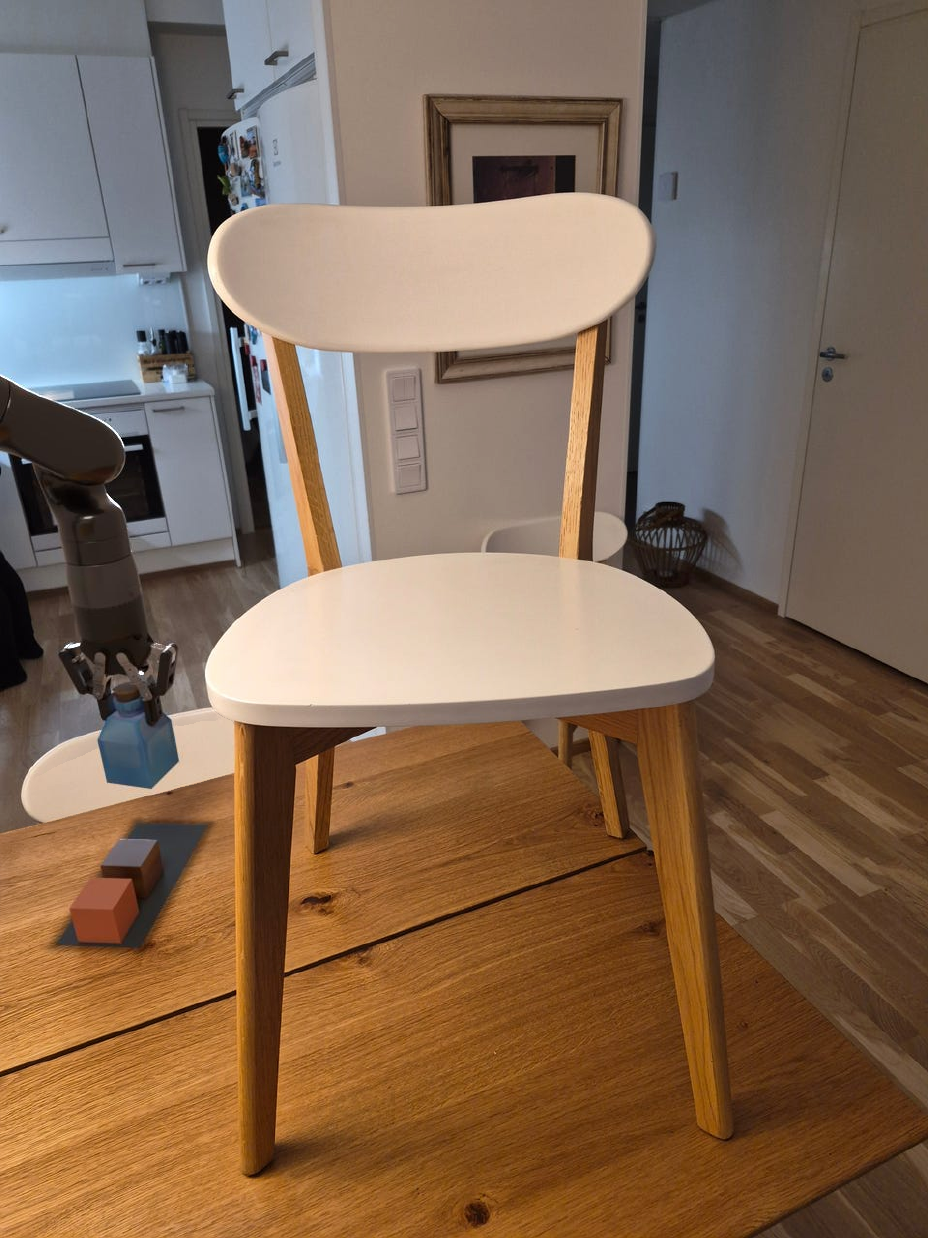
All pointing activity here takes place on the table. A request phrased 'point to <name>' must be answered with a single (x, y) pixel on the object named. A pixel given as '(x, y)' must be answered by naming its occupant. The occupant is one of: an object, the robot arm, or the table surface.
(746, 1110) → the table surface
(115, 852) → the walnut block
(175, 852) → the mat
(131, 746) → the perfume bottle
